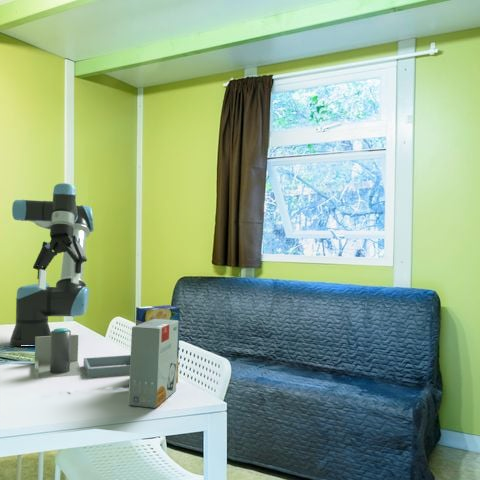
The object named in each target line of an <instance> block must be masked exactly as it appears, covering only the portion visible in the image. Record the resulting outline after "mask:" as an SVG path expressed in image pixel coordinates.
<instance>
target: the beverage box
mask: <svg viewBox="0 0 480 480" xmlns="http://www.w3.org/2000/svg"><path fill="white" fill-rule="evenodd" d="M135 307H136V309H135V311H136V312H135V326H136V325H139V324H142V323H145V322H147V321H150V320H153V319H165V320H178V321H179V322H178V346H177V374H176V383H178V382H179V359H180V358H179V357H180V356H179V355H180V352H179V351H180V319H181V318H180V317H181V313H180V312H181V311H180V310H181V308H180V307H178V306H173V305H171V304H168V305H167V304H166V305H152V306H151V305H150V306H135Z"/></svg>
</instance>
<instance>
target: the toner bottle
mask: <svg viewBox="0 0 480 480" xmlns="http://www.w3.org/2000/svg"><path fill="white" fill-rule="evenodd" d="M50 331H51V330H50ZM71 332H72V330H69V329H68V328H62V327H61V328H54V329H53V330H52V331H51V352H50V373H54V374H61V373H66V372H69V371H70V341H71V335H72V334H71Z"/></svg>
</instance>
